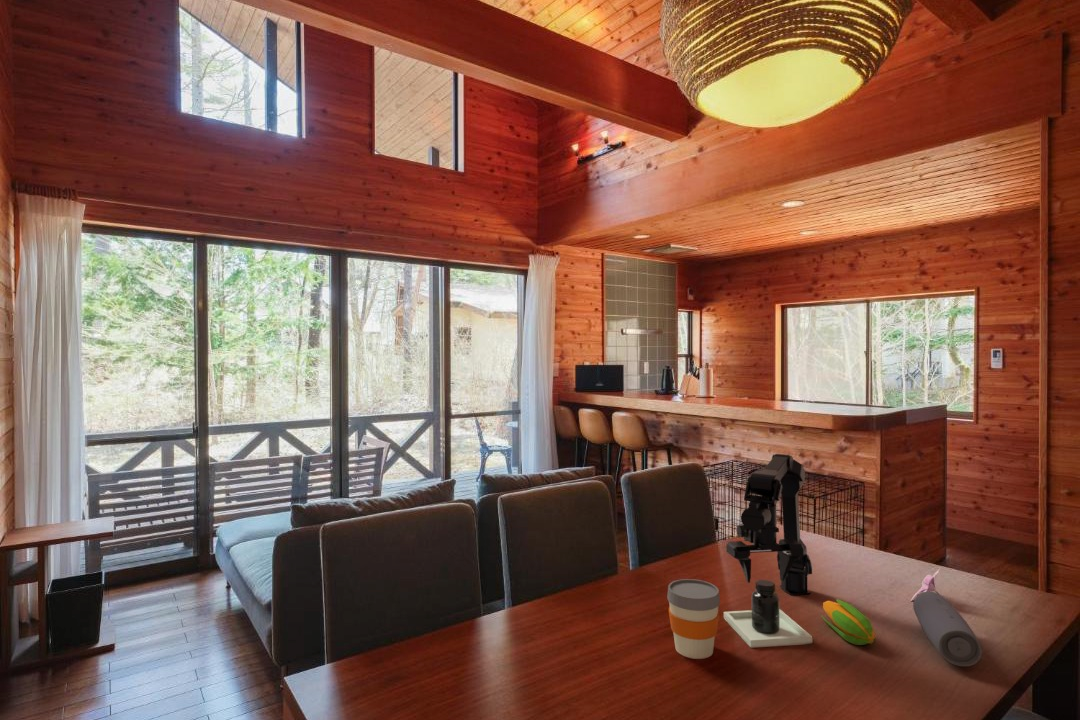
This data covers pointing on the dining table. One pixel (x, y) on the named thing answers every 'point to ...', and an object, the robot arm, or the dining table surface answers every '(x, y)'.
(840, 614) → the corn
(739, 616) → the tray
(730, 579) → the dining table surface
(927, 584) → the lily
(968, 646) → the bluetooth speaker
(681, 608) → the reusable coffee cup
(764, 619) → the supplement bottle
